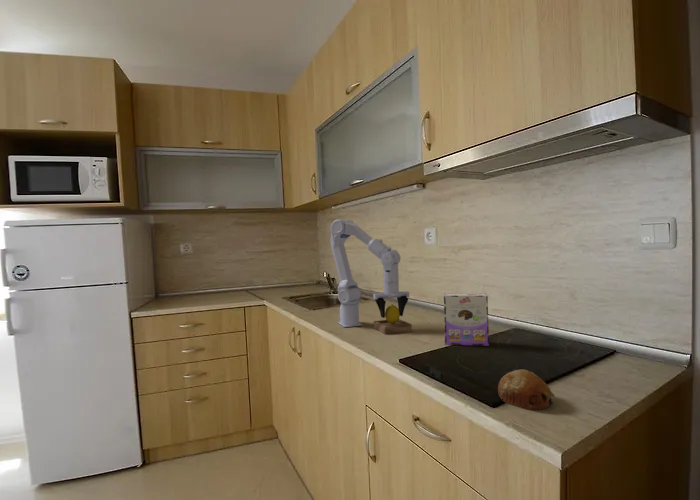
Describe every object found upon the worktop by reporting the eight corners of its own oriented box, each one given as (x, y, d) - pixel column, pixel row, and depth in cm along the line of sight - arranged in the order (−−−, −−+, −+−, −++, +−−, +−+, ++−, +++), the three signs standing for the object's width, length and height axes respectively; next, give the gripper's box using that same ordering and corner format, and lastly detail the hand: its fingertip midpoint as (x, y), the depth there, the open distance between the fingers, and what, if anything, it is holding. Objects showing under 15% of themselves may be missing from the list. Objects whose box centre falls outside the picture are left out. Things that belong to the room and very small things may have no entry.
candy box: (487, 342, 120) (486, 292, 120) (489, 346, 115) (488, 295, 114) (444, 340, 124) (443, 292, 124) (444, 344, 118) (443, 294, 118)
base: (373, 328, 144) (373, 321, 144) (398, 325, 147) (398, 318, 147) (385, 334, 133) (385, 326, 133) (411, 331, 137) (411, 324, 137)
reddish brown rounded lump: (527, 406, 81) (513, 369, 84) (568, 402, 73) (551, 361, 76) (497, 416, 76) (483, 377, 79) (537, 413, 68) (520, 370, 71)
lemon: (387, 326, 137) (386, 305, 137) (384, 323, 142) (383, 303, 142) (401, 326, 137) (401, 305, 137) (397, 322, 143) (397, 302, 143)
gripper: (378, 283, 134) (378, 320, 134) (412, 281, 138) (413, 316, 139) (370, 281, 140) (371, 316, 141) (404, 279, 145) (404, 313, 145)
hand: (391, 316), depth 140 cm, fingers open, 7 cm apart
